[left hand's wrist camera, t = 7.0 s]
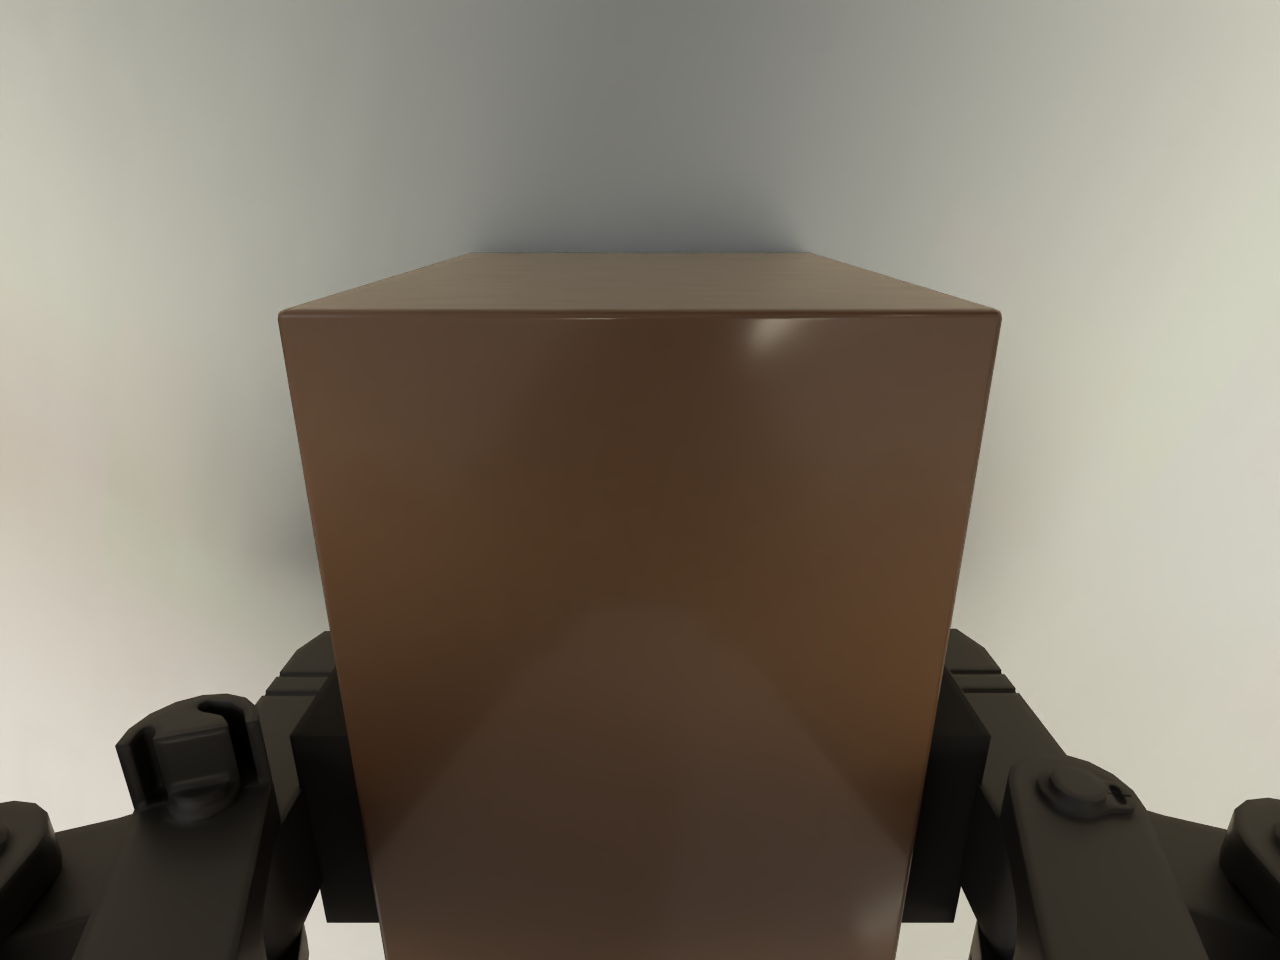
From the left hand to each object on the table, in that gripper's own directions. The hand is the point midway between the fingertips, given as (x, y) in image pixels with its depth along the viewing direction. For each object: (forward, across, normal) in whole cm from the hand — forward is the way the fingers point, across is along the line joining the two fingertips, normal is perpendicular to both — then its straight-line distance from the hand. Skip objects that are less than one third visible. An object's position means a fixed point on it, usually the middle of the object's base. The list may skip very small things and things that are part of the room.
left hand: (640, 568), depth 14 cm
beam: (0, 0, -27) cm, 27 cm away
